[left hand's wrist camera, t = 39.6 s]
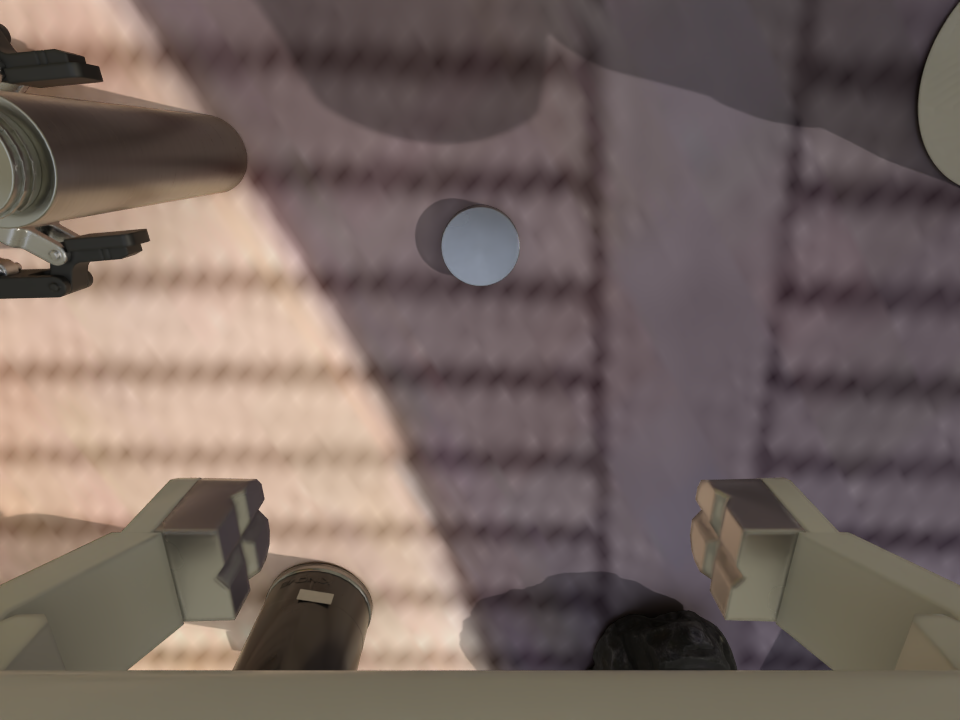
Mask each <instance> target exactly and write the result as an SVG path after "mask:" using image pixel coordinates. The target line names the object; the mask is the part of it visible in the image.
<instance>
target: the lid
mask: <svg viewBox="0 0 960 720" xmlns="http://www.w3.org/2000/svg"><path fill="white" fill-rule="evenodd" d="M441 251H442V257H443V260H444V262H445V265H446V266H447V268H448V269H449V271H450V272H451V273H452V274H453V275H454V276H455V277H456V278H457V279H459V280H461V281H462V282H464V283H467V284H470V285H474V286H487V285H491V284H494V283H497V282H499V281H500V280H502V279H503V278H505V277H506V276H507V275H508V274H509V273H510V272H511V271H512V269H513V268H514V266H515V264H516V262H517V260H518V256H519V251H520V242H519V237H518V233H517V231H516V228H515V226H514V224H513V222H512V221H511V220H510V218H509V217H508V216H507V215H506V214H505V213H503V212H502V211H500V210H499V209H497V208H494V207H492V206H488V205H473V206H469V207H467V208H464V209H462V210H461V211H459V212H458V213H456V214H455V215H454V216H453V217H452V218H451V220H450V221H449V222H448V224H447V226H446V228H445V231H444V233H443V236H442V242H441Z"/></svg>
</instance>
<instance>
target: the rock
mask: <svg viewBox="0 0 960 720" xmlns="http://www.w3.org/2000/svg"><path fill="white" fill-rule="evenodd" d="M593 659H594V664H595V665H594V667H593V668H591V669H589V670H737V666H736V663H735V660H734V657H733V654H732V651H731V648H730V646H729V644H728V642H727V640H726V638H725V637H724V635H723V634H722V632H721V631H720V630H719V629H718V627H717V626H715V625H714V624H712V623H711V622H709V621H707V620H705V619H704V618H702V617H700V616H699V615H697V614H696V613H695V612H692V611H678V612H670V613H667V614H664V615H659V616H657V617H656V618H648V617H646V616H642V615H628V616H626V617H623V618H620V619H618V620H617V621H616V622H615V623H613V624H611V625H610V626H609V627H608V628H607V629H606V630H605V632H604V634H603V636H602V637H601V638H600V640H599V641H598V643H597V646H596V648H595V651H594V654H593Z"/></svg>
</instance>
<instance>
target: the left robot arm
mask: <svg viewBox="0 0 960 720" xmlns="http://www.w3.org/2000/svg"><path fill="white" fill-rule="evenodd" d="M918 120H919V127H920V132H921V137H922V140H923V143H924V146H925V148H926V150H927V153H928V154H929V156H930V158H931V160H932V161H933V163H934V164H935V165H936V167H937V168H938V169H939V170H940V171H941V172H942V173H943V174H944V175H945V176H946V177H947V178H949V179H950V180H951V181H953V182H954V183H956V184H958V185H960V2H959V3H958V4H957V6H956V7H955V8H954V10H953V11H952V13H951V14H950V15H949V17H948V18H947V20H946V22H945V23H944V25H943V26H942V28H941V30H940V32H939V34H938V35H937V37H936V39H935V41H934V44H933V46H932V48H931V50H930V53H929V55H928V58H927V61H926V64H925V67H924V71H923V74H922V78H921V83H920V89H919V97H918ZM263 501H264V494H263V489H262V484H261V483H260V482H259V481H258V480H257V479H225V478H203V479H202V478H176V479H172V480H170V481H169V482H168V483H167V484H166V485H165V486H164V487H163V488H162V489H161V490H160V491H159V492H158V493H157V494H156V496H155V497H154V498H153V499H152V500H151V501H150V502H149V503H148V504H147V505H146V506H145V507H144V508H143V509H142V510H141V511H140V512H139V514H138V515H137V516H136V517H135V518H134V519H133V520H132V521H131V522H130V523H129V524H128V525H127V526H126V527H125V528H124V529H123V530H122V532H111V533H109V534H107V535H105V536H103V537H101V538H99V539H97V540H95V541H92V542H90V543H88V544H86V545H84V546H82V547H80V548H78V549H76V550H74V551H71V552H69V553H67V554H65V555H63V556H61V557H59V558H57V559H55V560H52V561H50V562H48V563H46V564H44V565H42V566H40V567H38V568H36V569H33V570H31V571H29V572H27V573H25V574H23V575H21V576H19V577H17V578H14V579H12V580H10V581H8V582H6V583H4V584H2V585H0V720H960V585H958V584H956V583H954V582H952V581H950V580H947V579H945V578H943V577H941V576H939V575H937V574H935V573H933V572H931V571H928V570H926V569H924V568H922V567H920V566H918V565H916V564H914V563H912V562H910V561H907V560H905V559H903V558H901V557H899V556H897V555H895V554H893V553H891V552H889V551H886V550H884V549H882V548H880V547H878V546H876V545H874V544H872V543H870V542H867V541H865V540H863V539H861V538H859V537H857V536H855V535H853V534H851V533H849V532H838V530H837V529H836V528H835V527H834V526H833V525H832V524H831V523H830V522H829V521H828V520H827V519H826V518H825V517H824V516H823V515H822V513H821V512H820V511H819V510H818V509H817V508H816V507H815V506H814V505H813V504H812V503H811V502H810V501H809V500H808V499H807V498H806V497H805V495H804V494H803V493H802V492H801V491H800V490H799V489H798V488H797V487H796V486H795V485H794V484H793V483H792V482H791V481H790V480H788V479H786V478H756V479H725V480H701V482H700V484H699V486H698V488H697V493H696V501H697V503H698V504H699V506H700V508H701V509H702V510H701V511H700V512H699V513H698V514H697V515H696V516H695V517H694V518H693V519H692V524H691V532H690V539H691V550H692V553H693V557H694V560H695V563H696V565H697V567H698V569H699V571H700V572H701V573H703V574H704V575H706V576H707V577H709V578H710V579H712V580H711V586H710V592H711V594H712V596H713V597H714V599H715V601H716V603H717V605H718V607H719V609H720V611H721V613H722V614H723V616H724V618H725V620H744V621H776V624H777V625H778V626H779V627H781V628H782V629H783V630H784V631H785V632H787V633H788V634H789V635H790V636H792V637H793V638H794V639H795V640H796V641H798V642H799V643H800V644H801V645H803V646H804V647H805V648H806V649H808V650H809V651H810V652H811V653H812V654H814V655H815V656H816V657H817V658H819V659H820V660H821V661H822V662H823V663H825V664H826V665H827V666H828V667H830V668H831V669H832V670H522V671H314V670H128V669H129V668H131V667H132V666H133V665H134V664H135V663H137V662H138V661H139V660H140V659H142V658H143V657H144V656H145V655H147V654H148V653H149V652H150V651H151V650H153V649H154V648H155V647H156V646H158V645H159V644H160V643H161V642H163V641H164V640H165V639H166V638H167V637H169V636H170V635H171V634H172V633H174V632H175V631H176V630H177V629H178V628H180V627H181V626H182V625H183V624H184V622H183V621H215V620H235V618H236V616H237V615H238V613H239V611H240V609H241V607H242V605H243V603H244V601H245V599H246V597H247V596H248V594H249V592H250V586H249V580H248V579H250V578H251V577H253V576H254V575H256V574H257V573H259V572H260V571H261V569H262V566H263V564H264V562H265V560H266V557H267V552H268V548H269V542H270V530H269V523H268V519H267V518H266V517H265V516H264V515H263V514H262V513H261V512H260V511H259V510H258V509H259V508H260V506H261V504H262V503H263Z"/></svg>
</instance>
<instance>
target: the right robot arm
mask: <svg viewBox="0 0 960 720" xmlns="http://www.w3.org/2000/svg"><path fill="white" fill-rule="evenodd" d="M10 42H11V36H10V33H9V31H8V30H7V29H6V27H5V26H3V25H2V24H0V91H9V92H17V93H25V92H26V91H27V89H28V88H29V87H30V86H31V87H38V88H45V87H55V86H65V85H76V84H86V83H97V82H103V79H102V75H101V72H100V68H99V67H98V66H94V65H89V64H86V61H85V58H84V57H83V56H80V55H77V54H74V53H69V52H65V51H61V50H56V49H51V50H41V51H30V52H20V53H17V52H16V51H15V50H14V48H13V47H12V45H11V44H10ZM59 222H60V221H57V222H51V223H45V224H40V225H34V226H28V227H23V228H15V229H3V228H0V242H1V243H3V244H5V245H8V246H11V247H15V248H22V249H24V250H26V251H28V252H30V253H32V254H34V255H36V256H38V257H39V258H41V259H43V260H45V261H47V262H49V263H50V269H24V270H21V269H22V267H21V265H20V264H19V263H17V262H15V263H14V262H13V261H11V260H9V259H3V258H0V299H7V298H49V297H62V296H65V295H67V294H70V293H73V292H76V291H78V290H81V289H84V288H87V287H89V286H91V285H92V283H93V277H92V275H91V273H90V272H89V271H88V264H89V262H92V261H103V260H115V259H122V258H126V257H129V256H132V255H135V254H137V253H139V252H141V251H142V247H141V243H145V242H148V241H150V239H149V235H148V232H147V229H138V230H127V231H116V232H104V233H93V234H86V235H82V236H80V235H78V234H76V233H74V232H73V231H71V230H69V229H67V228H65V227H63V226H62V225H60V224H59ZM371 615H372V600H371V597H370V594H369V592H368V590H367V589H366V587H365V586H364V585H363V583H362V582H361V581H360V580H359V579H358V578H356V577H355V576H354V575H352V574H351V573H349V572H347V571H346V570H343V569H341V568H338V567H336V566H332V565H328V564H320V563H310V564H303V565H298V566H295V567H292V568H290V569H288V570H286V571H285V572H283V573H282V574H281V575H279V576H278V577H277V578H276V580H275V581H274V582H273V584H272V586H271V588H270V590H269V592H268V594H267V597H266V600H265V603H264V605H263V607H262V609H261V612H260V614H259V616H258V618H257V620H256V622H255V624H254V626H253V628H252V630H251V632H250V634H249V636H248V638H247V641H246V643H245V645H244V647H243V649H242V651H241V653H240V655H239V658H238V660H237V662H236V664H235V666H234V668H233V670H314V671H357V669H358V665H359V661H360V656H361V652H362V649H363V645H364V640H365V636H366V632H367V628H368V626H369V623H370V619H371Z"/></svg>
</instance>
